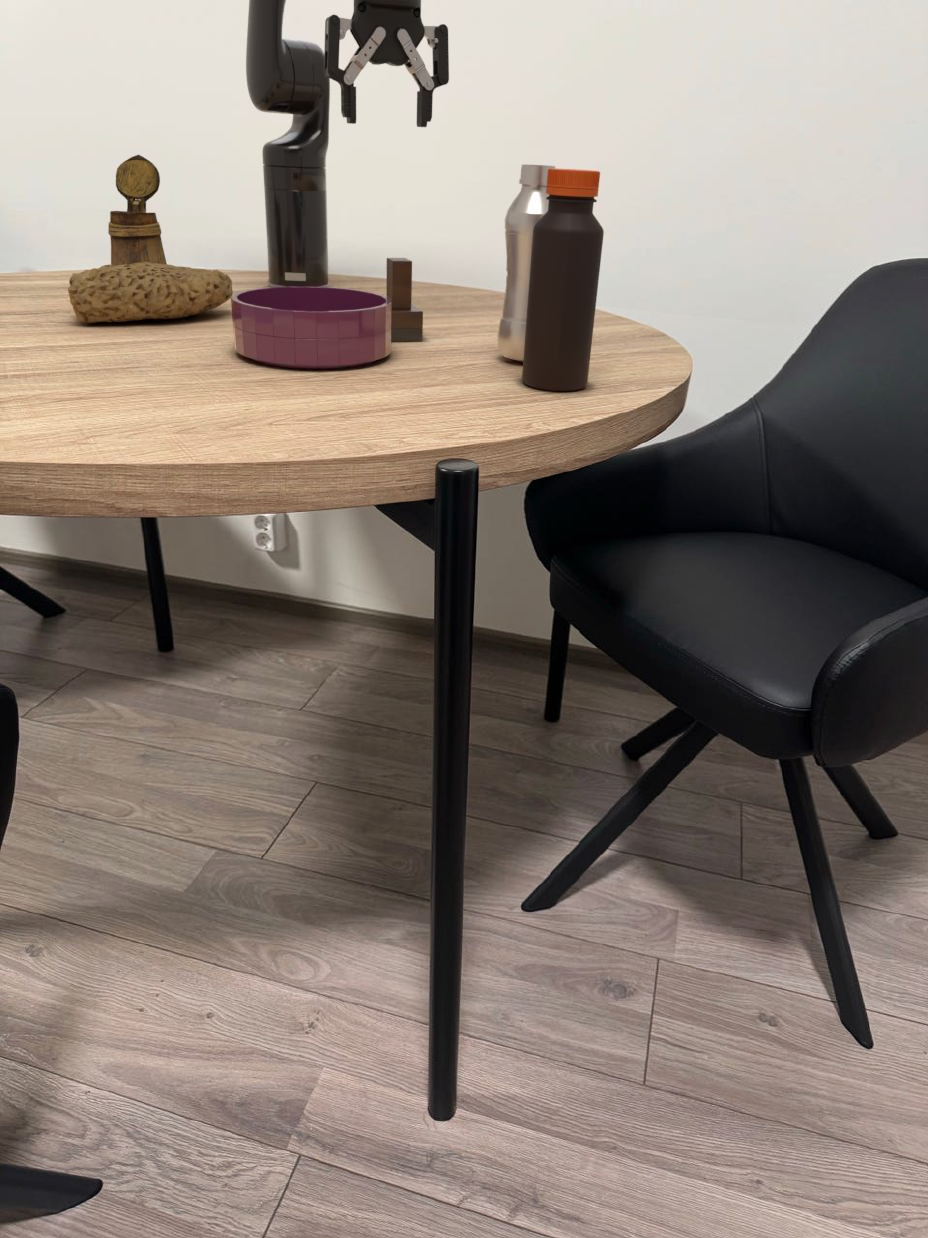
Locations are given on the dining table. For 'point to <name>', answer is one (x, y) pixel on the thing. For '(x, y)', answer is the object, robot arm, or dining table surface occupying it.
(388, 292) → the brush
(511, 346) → the silver metal bottle
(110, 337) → the dining table surface
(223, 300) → the sponge
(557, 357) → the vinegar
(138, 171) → the brown wooden stand
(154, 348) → the dining table surface
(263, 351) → the bowl
